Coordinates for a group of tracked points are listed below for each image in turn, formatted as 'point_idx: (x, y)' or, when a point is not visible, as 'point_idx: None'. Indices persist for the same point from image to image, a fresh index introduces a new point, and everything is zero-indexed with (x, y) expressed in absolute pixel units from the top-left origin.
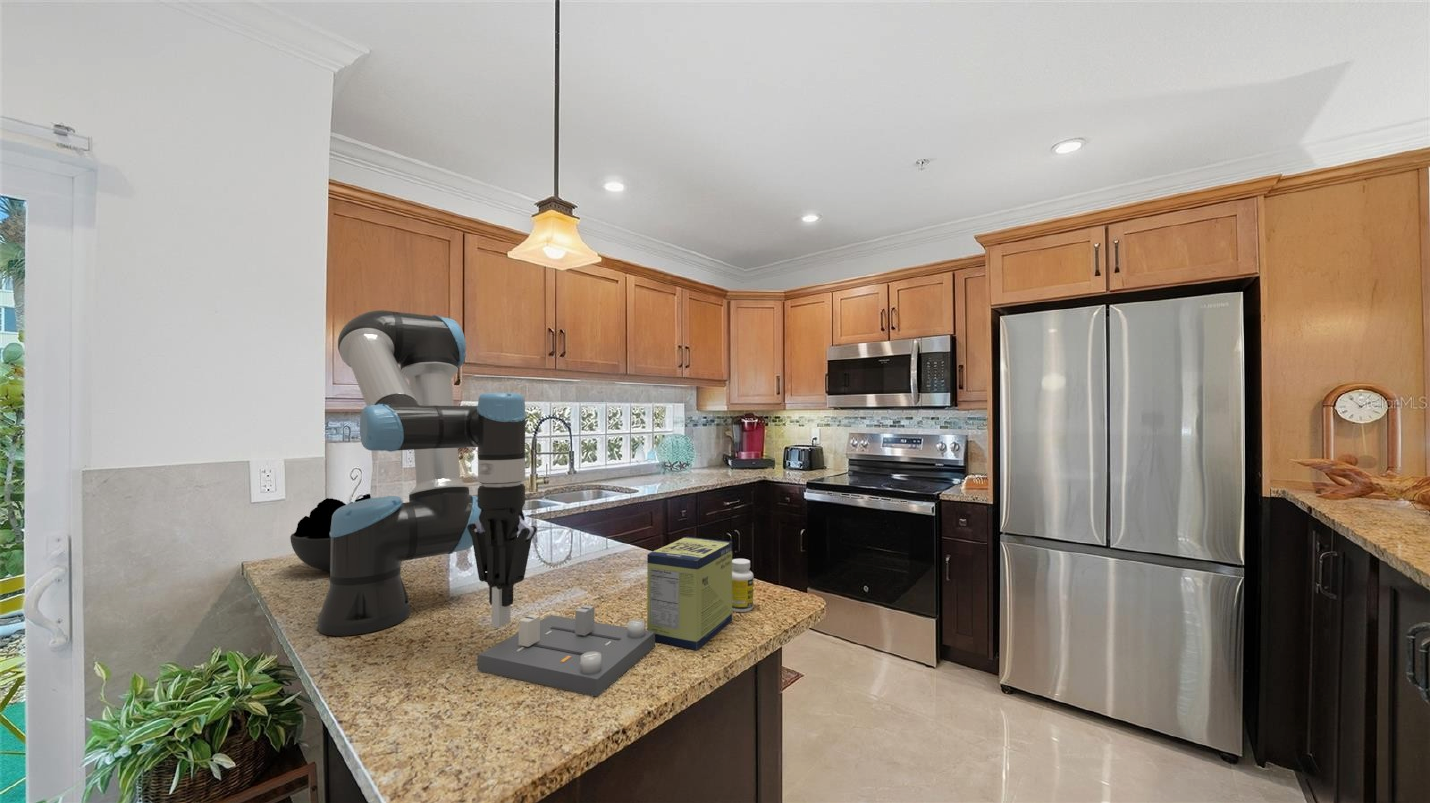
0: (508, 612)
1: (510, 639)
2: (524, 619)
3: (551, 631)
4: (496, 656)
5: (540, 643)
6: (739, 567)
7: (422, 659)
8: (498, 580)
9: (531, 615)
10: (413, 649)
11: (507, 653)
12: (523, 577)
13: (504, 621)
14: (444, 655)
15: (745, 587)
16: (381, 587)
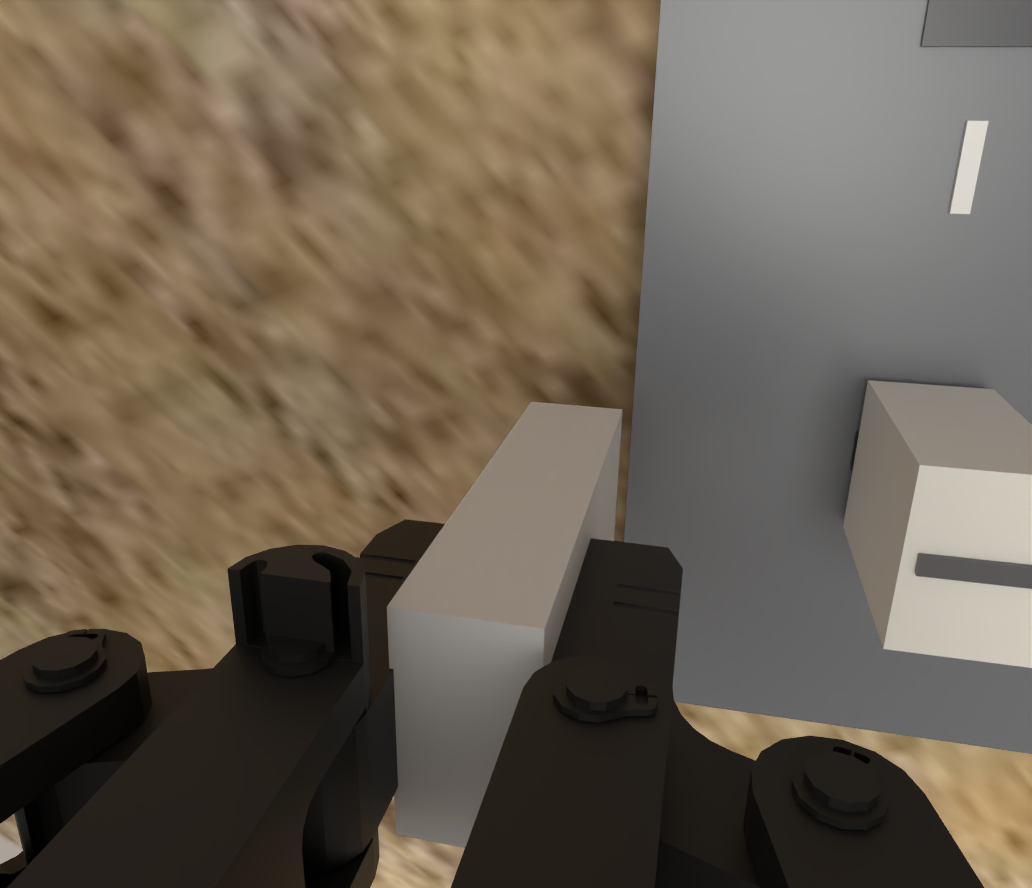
0: (607, 479)
1: (674, 414)
2: (940, 615)
3: (987, 126)
4: (773, 695)
5: None
6: None
7: (198, 580)
8: (362, 767)
9: (961, 496)
10: (31, 487)
11: (825, 638)
12: (934, 835)
13: (613, 505)
14: (264, 507)
15: None
16: None
